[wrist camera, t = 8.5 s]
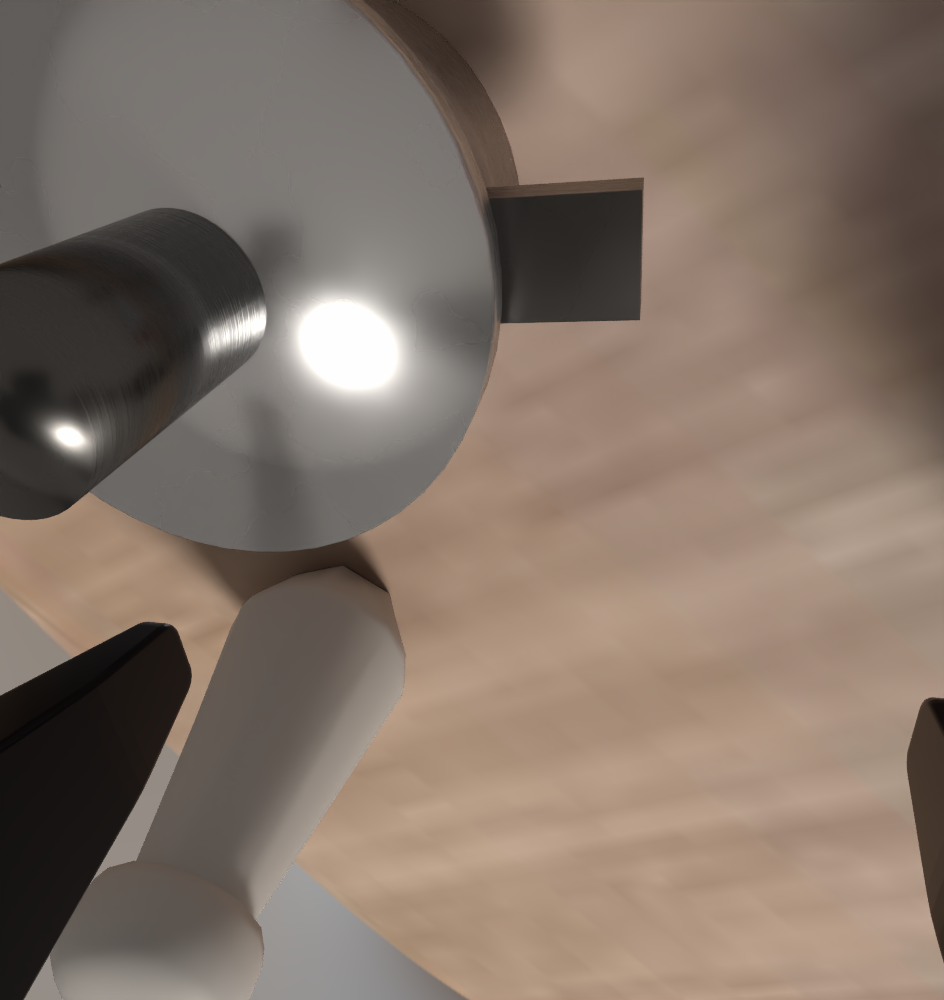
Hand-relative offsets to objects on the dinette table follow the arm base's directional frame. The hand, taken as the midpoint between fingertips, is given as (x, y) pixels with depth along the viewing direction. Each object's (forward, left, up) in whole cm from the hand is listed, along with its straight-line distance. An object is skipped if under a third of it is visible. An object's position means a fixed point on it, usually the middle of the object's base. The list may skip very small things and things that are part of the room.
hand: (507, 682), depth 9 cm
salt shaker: (+9, +10, -13) cm, 18 cm away
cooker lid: (+6, -3, -7) cm, 10 cm away
